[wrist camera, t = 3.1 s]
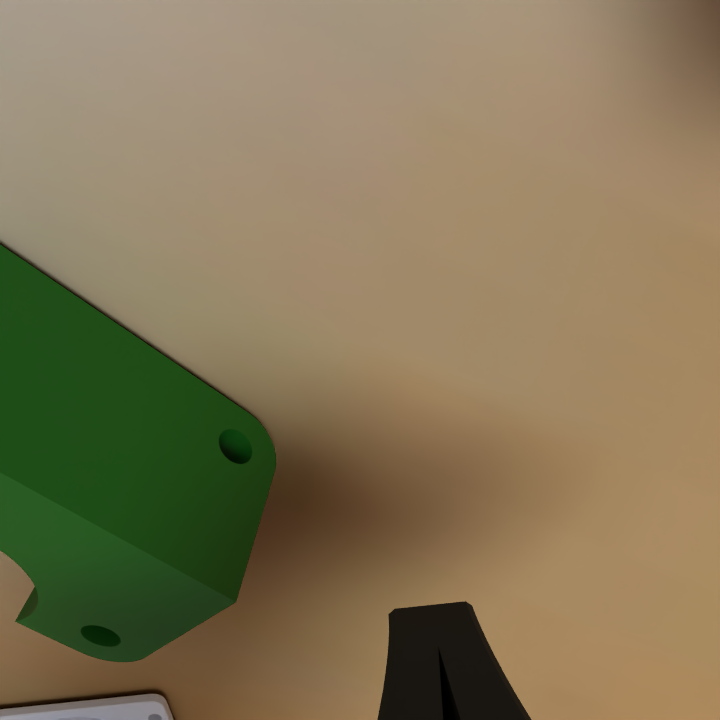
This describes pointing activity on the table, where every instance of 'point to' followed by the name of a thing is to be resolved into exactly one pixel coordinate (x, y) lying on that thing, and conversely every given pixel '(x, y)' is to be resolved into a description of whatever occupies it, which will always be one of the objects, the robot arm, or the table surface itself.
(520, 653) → the table surface
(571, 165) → the table surface
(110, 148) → the table surface
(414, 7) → the table surface
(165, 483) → the clamp
